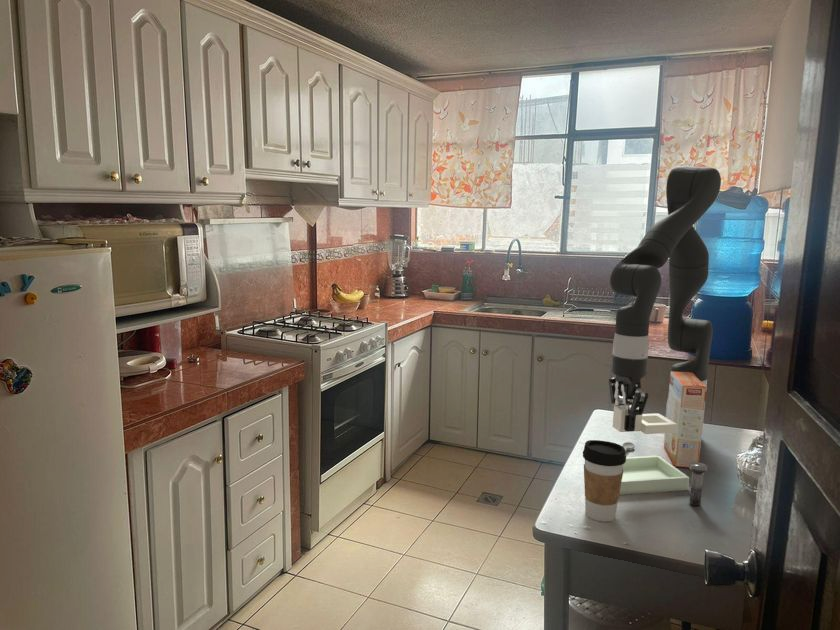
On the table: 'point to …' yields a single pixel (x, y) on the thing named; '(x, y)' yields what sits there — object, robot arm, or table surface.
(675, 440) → the cracker box
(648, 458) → the tray
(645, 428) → the cream stepped holder
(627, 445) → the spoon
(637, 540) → the table surface
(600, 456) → the coffee cup
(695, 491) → the grey bolt
